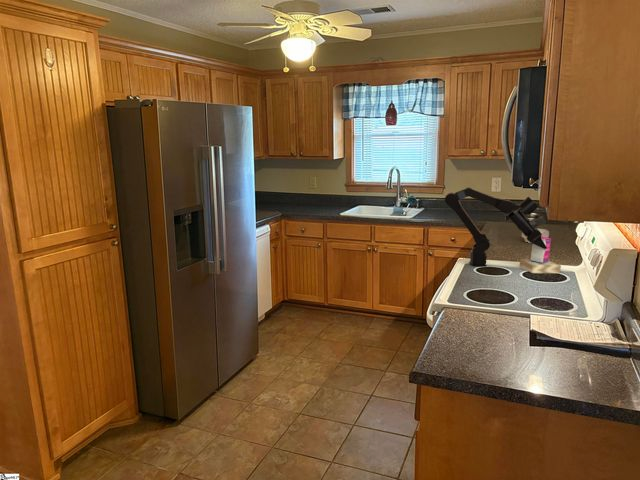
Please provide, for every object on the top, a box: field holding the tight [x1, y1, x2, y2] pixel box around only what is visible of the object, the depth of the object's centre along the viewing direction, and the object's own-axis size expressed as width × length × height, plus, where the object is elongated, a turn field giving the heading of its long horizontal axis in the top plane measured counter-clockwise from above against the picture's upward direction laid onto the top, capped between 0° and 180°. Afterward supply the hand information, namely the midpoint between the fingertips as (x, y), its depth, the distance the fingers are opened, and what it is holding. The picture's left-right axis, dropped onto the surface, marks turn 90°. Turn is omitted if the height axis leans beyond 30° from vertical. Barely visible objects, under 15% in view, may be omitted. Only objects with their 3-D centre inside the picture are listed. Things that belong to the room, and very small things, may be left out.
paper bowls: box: [520, 227, 550, 244], centre depth 293 cm, size 15×15×8 cm
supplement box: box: [530, 237, 552, 264], centre depth 224 cm, size 6×6×12 cm
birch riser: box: [519, 258, 562, 274], centre depth 226 cm, size 13×13×4 cm
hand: (544, 246), depth 223 cm, fingers open, 9 cm apart
